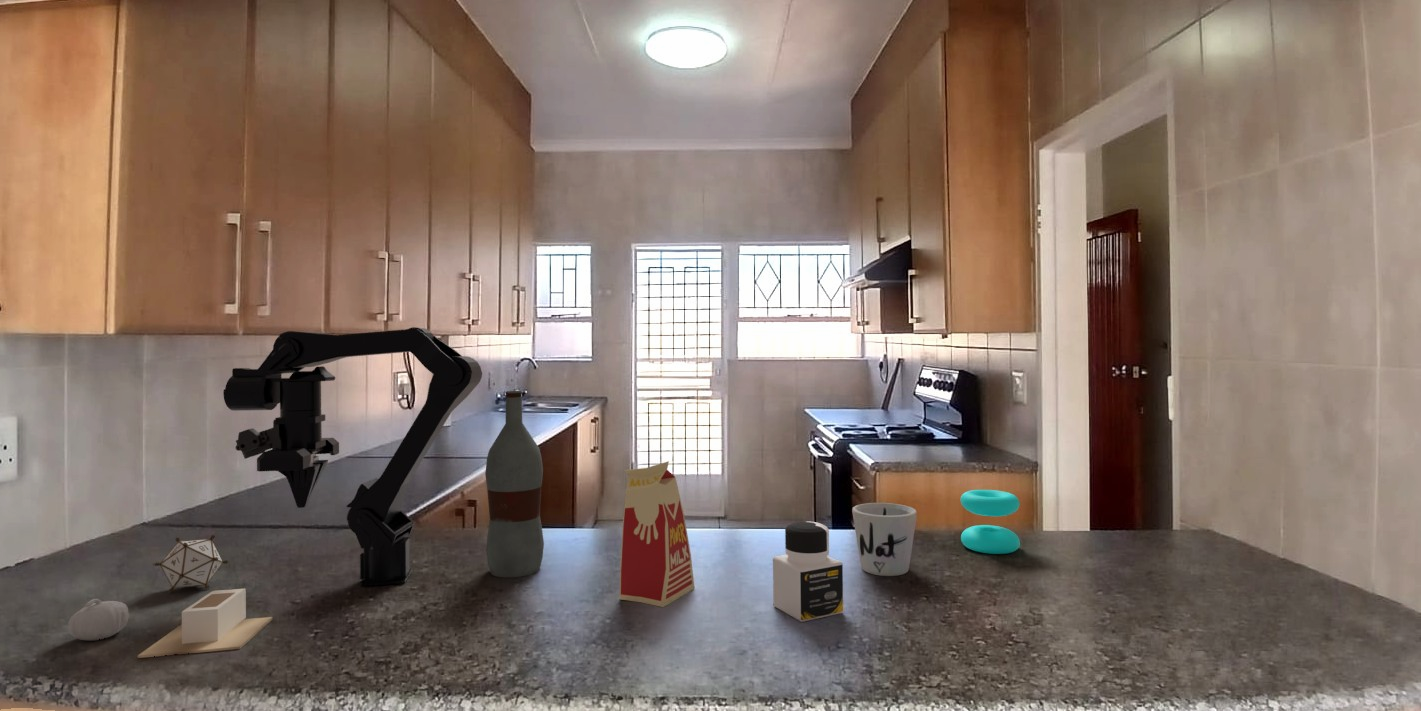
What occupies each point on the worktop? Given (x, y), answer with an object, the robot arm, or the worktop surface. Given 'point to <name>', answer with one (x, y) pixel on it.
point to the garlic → (98, 620)
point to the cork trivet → (228, 642)
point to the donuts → (988, 535)
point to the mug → (884, 537)
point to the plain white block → (213, 616)
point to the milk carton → (654, 539)
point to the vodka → (514, 497)
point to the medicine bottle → (807, 574)
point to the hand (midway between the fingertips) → (301, 507)
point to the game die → (191, 563)
